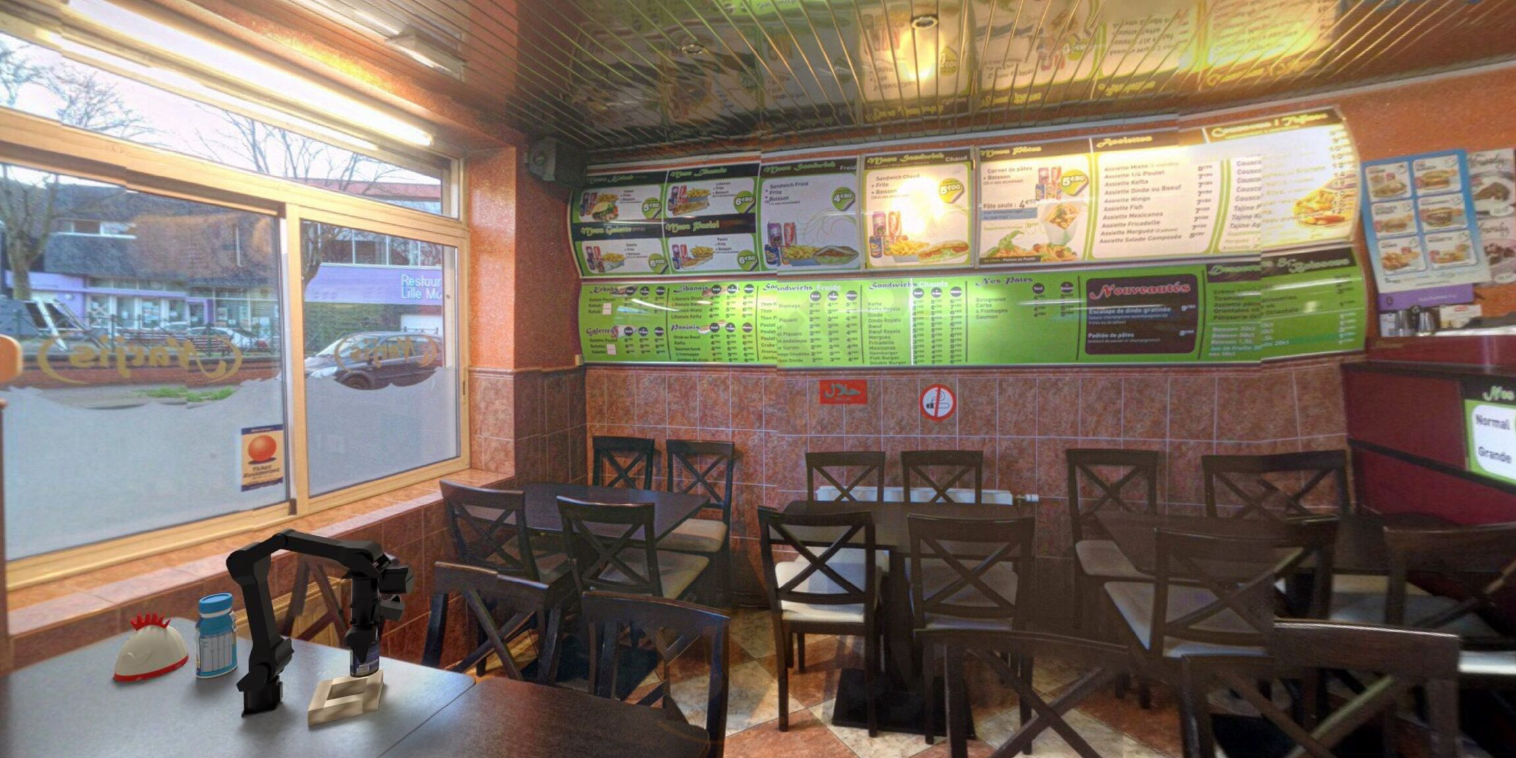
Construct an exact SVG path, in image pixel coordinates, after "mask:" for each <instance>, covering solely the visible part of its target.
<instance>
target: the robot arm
mask: <svg viewBox="0 0 1516 758" xmlns="http://www.w3.org/2000/svg"><path fill="white" fill-rule="evenodd" d="M279 550H283V551H288V552H293V553H298V554H304V555H308V556H312V557H313V556H314V557H318V558H323V559H327V560H332V561H334V562H337V563H338V564H339V565H341V566H342V567H344V568H346V569H348V570H347V572H346V573H344V574H343V575H342V576H341V577H340V579H341V580H351V593H350V594H351V595H350V597H351V599H350V600H351V601H350V603H349V609H350V619H349V626H352V627H350V628H349V629H348V630H347V631H346V632H345V635H344V641H343V643H344V645H343V646H345V647H349V649H350V648H351V649H352V651H353V652H354V654H355V656H356V657H357V659H358V661H359V662H360V663H365V662H366V658H367V654H368V649H369V645H370V643H371V642H374V641H376V638H377V635H378V626H377V625H378V624H380V623H381V620H387V621H393V622H395V623H398V622H400V621H401V619H402V616H403V614H404V612H405V610H406V605H407V604H406V603H405V601H402V595H403V594H404V595H407V594H411V593H412V591H413V590H414V585H415V581H416V574H414V570H413V569H412V565H410V564H405V565H397V566H396V565H394V566H393V564H394V563H393V561H392V560H391V559H390V558H389V557H388V555H387V554H386V553H385V552H384V550H383V546H381V543H379V542H378V541H375V540H363V539H362V540H361V539H359V540H348V541H347V540H341V539H336V538H330V537H325V536H321V535H316V534H312V533H307V532H301V531H297V530H294V529H292V528H286V529H283V530H280V531H278V532H277V533H274V534H273V535H272V536H271V537H269V538H267V539H265V540H263V541H261V542H260V541H254V542H251V543H249V544H247V545H245V546H243V547H240V548H238V549H236V550H234V551H232V552H231V553H230V554H229V555H228V556H227V557H226V559H225V566H226V569H227V571H228V574H229V576H230V578H231V579H232V580H233V581H234V582H235V583H236V584H237V585H238V586H239V587H240V589H241V592H242V593H241V594H242V599H243V604H244V608H245V612H246V618H247V621H248V626H249V627H248V628H249V632H250V636H251V640H252V646H251V650H250V651H249V652H250V653H249V655H248V672H247V673H246V674H245V675H244V676H243V677H242V678H241V679H240V680H238V682H236V684H235V686H236V688H237V690H238V692H240V693H242V692H243V693H242V694H243V697H242V698H243V710H242V712H241V714H240V716H241V717H246V716H251V715H255V714H261V713H262V714H263V713H266V712H270V711H274V710H276V709H277V707H278V706H279V704H281V702H282V700H283V698H284V689H283V688H284V686H283V685H284V684H283V683H284V682H283V681H282V680H280V679H281V675H280V674H281V673H283V672H284V670H285V667H286V666H288V665H289V664H290V662H291V661H292V659H293V654H295V650H294V648H293V644H292V638H291V637H287V638H283V636H281V635H280V633H279V630H278V626H277V621H276V615H275V610H274V606H273V601H272V595H271V593H270V592H271V591H270V587H269V582H268V581H269V580H268V576H269V572H270V570H271V566H272V554H274V553H276V552H278V551H279ZM376 564H378V565H376ZM375 565H376V566H375ZM382 595H383V596H385V595H392V596H391V597H390V598H387V599H382Z"/></svg>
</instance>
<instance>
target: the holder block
mask: <svg viewBox="0 0 1516 758" xmlns="http://www.w3.org/2000/svg"><path fill="white" fill-rule="evenodd" d="M383 684H384V669H383V668H382V669H379V670H378V671H377V672H376V673H374V674H372V675H370V676H368V677H362V678H354V677H351V676H350V675H346V676H342V677H341V676H340V677H337V678H331V679H326V680H321V681H320V680H319V681H318V683H317V686H316V689H315V691H314V694H313V697H312V698H311V702H310V704H309V707H308V709H307V726H308V727H310V726H314V725H320V724H323V723H326V722H327V723H328V722H332V721H336V720H340V719H345V718H349V717H354V716H358V715H362V714H367V713H372V712H377V711H379V710H378V709H379V705H380V700H381V694H382V690H383V686H384V685H383Z"/></svg>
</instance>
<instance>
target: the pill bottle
mask: <svg viewBox="0 0 1516 758" xmlns="http://www.w3.org/2000/svg"><path fill="white" fill-rule="evenodd" d="M378 670H380V636H379V635H378V634H377V638H376V641H374V642H371V643H370V645H369V649H368V654H367V658H366V662H365V663H360V662H359V661H358V659H357V657H356V656H355V654H354V652H353V651H352V649H351V648H350V647H349V676H351V677H354V678H362V677H368V676H370V675H372V674H374V673H376V672H377V671H378Z"/></svg>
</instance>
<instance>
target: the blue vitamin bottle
mask: <svg viewBox="0 0 1516 758" xmlns="http://www.w3.org/2000/svg"><path fill="white" fill-rule="evenodd" d="M233 605H234V596H233V594H232V593H229V592H228V593H227V592H225V593H224V592H223V593H222V592H221V593H216V594H211V595H208V596H205V597H202V598H201V599H199V601H198V614H199V615H200V617H199V618H198V619H197V621H196V623H195V627H194V629H195V631H196V632H195V634H194V641H195V650H196V653H195V654H196V657H195V658H196V668H195V676H196V677H197V678H199V679H211V678H218V677H221V676H224V675H226V674H229V673H230V672H232V671H234V670H235V669H237V666H238V656H237V655H238V654H237V653H238V652H237V651H238V650H237V649H238V648H237V647H238V645H237V635H238V634H237V633H238V624H237V623H236V622H237V620H238V619H237V615H236V613H235V612H234V611H233V609H232V608H233Z"/></svg>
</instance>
